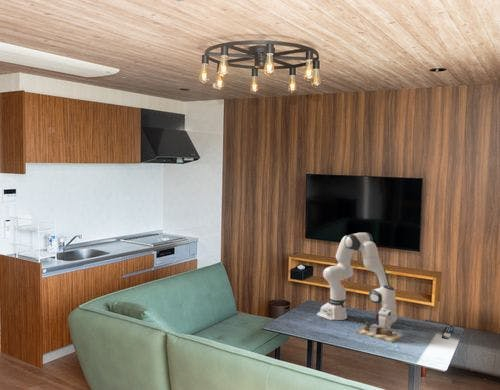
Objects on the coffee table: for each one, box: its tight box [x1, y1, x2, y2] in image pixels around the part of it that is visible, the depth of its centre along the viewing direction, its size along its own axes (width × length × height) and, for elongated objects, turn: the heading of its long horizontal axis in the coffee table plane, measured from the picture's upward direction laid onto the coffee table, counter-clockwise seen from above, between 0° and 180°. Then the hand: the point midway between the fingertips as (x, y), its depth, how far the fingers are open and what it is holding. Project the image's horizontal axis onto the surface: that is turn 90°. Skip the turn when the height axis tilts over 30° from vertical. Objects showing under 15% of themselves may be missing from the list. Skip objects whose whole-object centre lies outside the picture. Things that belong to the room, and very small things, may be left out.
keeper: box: [369, 323, 381, 334], centre depth 320 cm, size 5×6×4 cm
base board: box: [356, 327, 404, 344], centre depth 318 cm, size 26×15×1 cm, turn 49°
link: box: [363, 321, 393, 336], centre depth 319 cm, size 19×4×5 cm, turn 49°
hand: (388, 330), depth 317 cm, fingers closed
